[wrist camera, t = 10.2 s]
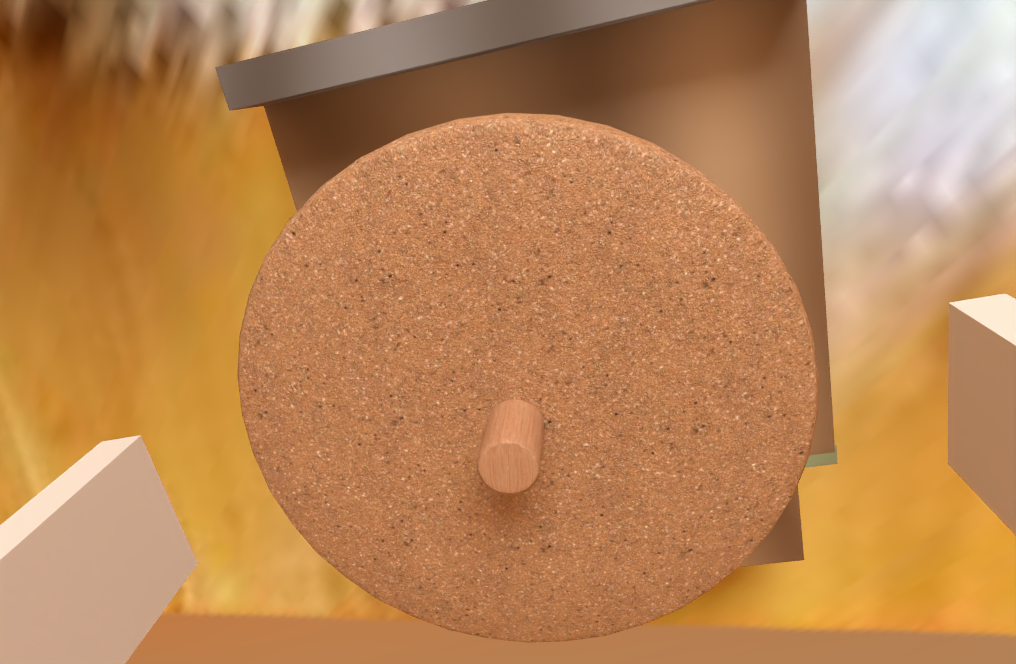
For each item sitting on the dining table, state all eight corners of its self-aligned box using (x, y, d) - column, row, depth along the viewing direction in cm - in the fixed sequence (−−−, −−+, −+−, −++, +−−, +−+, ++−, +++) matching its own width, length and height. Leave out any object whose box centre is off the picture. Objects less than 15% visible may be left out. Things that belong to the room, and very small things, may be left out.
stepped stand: (482, 525, 35) (436, 739, 24) (359, 65, 28) (213, 67, 17) (773, 489, 33) (872, 708, 22) (722, -21, 26) (833, -85, 14)
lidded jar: (377, 454, 23) (249, 701, 14) (333, 103, 19) (117, 139, 10) (720, 457, 21) (816, 728, 13) (746, 85, 18) (908, 107, 9)
